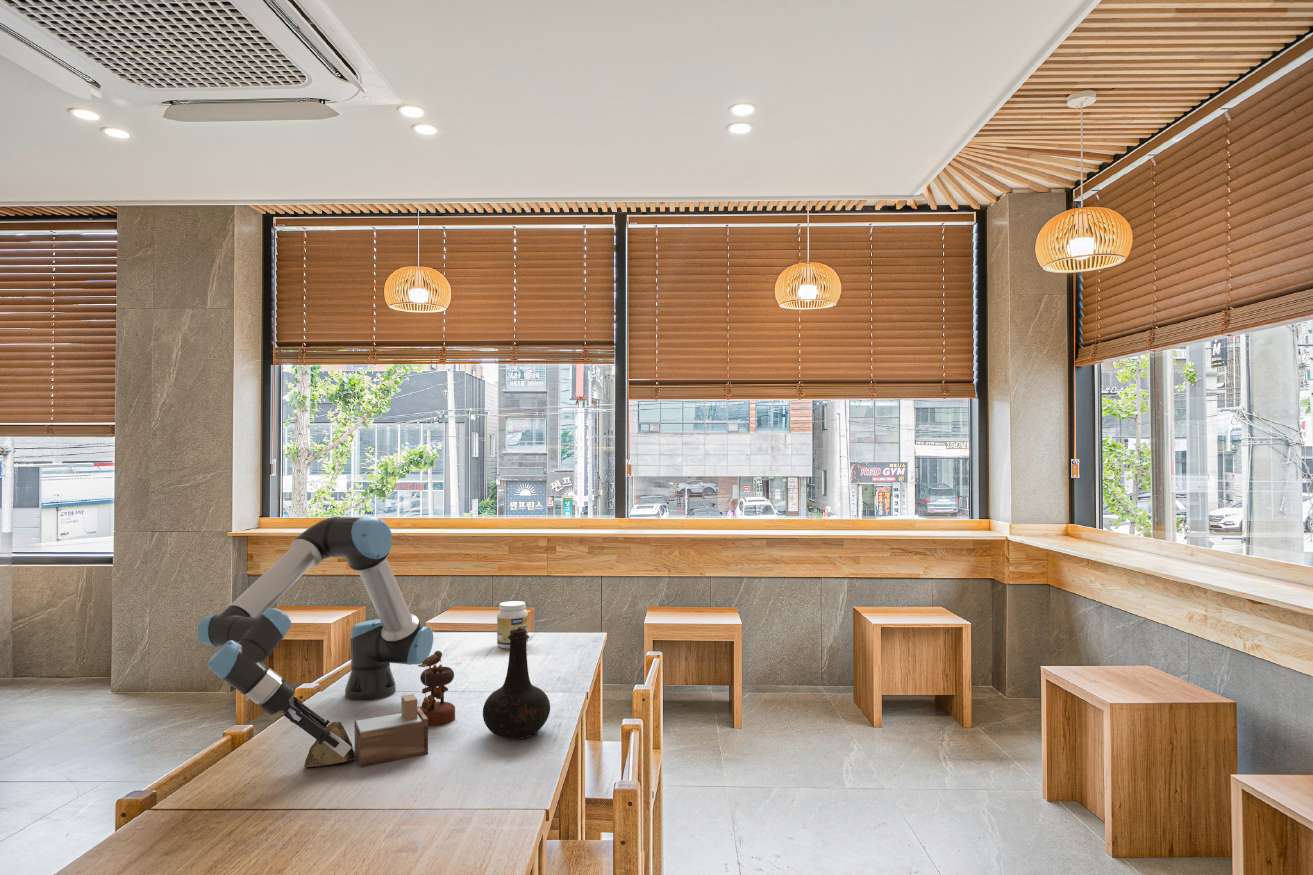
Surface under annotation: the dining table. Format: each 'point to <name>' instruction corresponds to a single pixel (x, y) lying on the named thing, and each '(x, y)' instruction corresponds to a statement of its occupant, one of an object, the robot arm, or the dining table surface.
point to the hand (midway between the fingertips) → (345, 748)
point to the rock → (329, 749)
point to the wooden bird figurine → (436, 691)
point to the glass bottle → (516, 697)
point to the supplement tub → (510, 621)
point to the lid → (393, 716)
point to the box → (391, 742)
